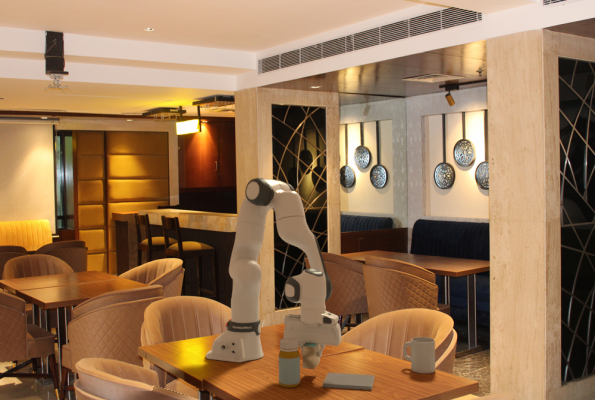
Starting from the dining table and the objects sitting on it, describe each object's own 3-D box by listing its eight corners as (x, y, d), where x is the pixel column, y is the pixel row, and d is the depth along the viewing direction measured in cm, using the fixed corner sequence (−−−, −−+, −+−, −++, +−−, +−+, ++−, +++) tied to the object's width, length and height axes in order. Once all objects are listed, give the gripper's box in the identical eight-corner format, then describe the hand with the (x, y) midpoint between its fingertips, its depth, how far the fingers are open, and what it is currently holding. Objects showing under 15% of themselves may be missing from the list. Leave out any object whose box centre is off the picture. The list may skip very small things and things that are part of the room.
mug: (439, 369, 208) (438, 338, 208) (429, 375, 202) (429, 343, 201) (408, 363, 215) (408, 334, 215) (398, 369, 209) (398, 339, 209)
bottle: (278, 382, 195) (278, 337, 195) (298, 381, 196) (298, 337, 196) (279, 388, 188) (279, 343, 188) (300, 388, 189) (300, 342, 189)
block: (302, 368, 197) (303, 344, 197) (309, 361, 206) (309, 338, 206) (313, 369, 196) (314, 345, 196) (319, 362, 204) (320, 339, 204)
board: (322, 387, 189) (322, 383, 189) (328, 376, 201) (328, 372, 201) (371, 390, 186) (371, 386, 186) (374, 378, 198) (374, 375, 198)
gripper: (281, 315, 200) (280, 354, 200) (339, 320, 195) (338, 361, 195) (286, 312, 207) (285, 350, 206) (342, 316, 201) (341, 356, 201)
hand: (311, 355), depth 201 cm, fingers closed on block, 4 cm apart
